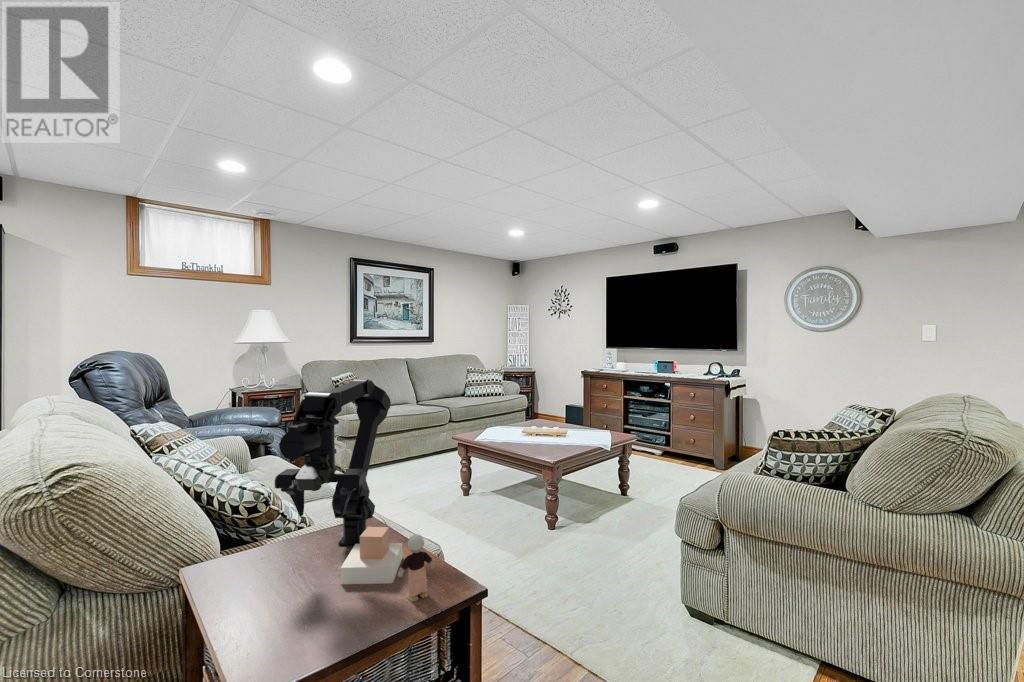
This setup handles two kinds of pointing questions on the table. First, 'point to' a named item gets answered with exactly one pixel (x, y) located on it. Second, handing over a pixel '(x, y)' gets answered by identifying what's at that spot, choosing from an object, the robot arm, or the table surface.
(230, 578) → the table surface
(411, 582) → the grandmother figurine
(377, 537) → the terracotta block
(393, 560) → the cream box
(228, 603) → the table surface
